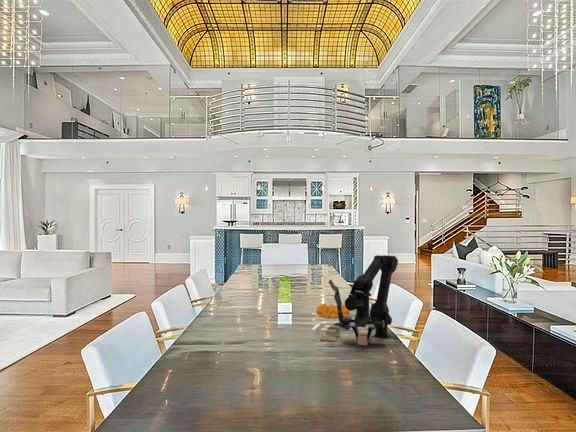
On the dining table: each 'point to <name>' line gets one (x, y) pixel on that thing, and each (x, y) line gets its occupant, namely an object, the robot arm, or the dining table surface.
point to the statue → (338, 307)
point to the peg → (363, 337)
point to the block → (330, 332)
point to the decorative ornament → (331, 311)
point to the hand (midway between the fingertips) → (362, 341)
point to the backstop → (316, 331)
